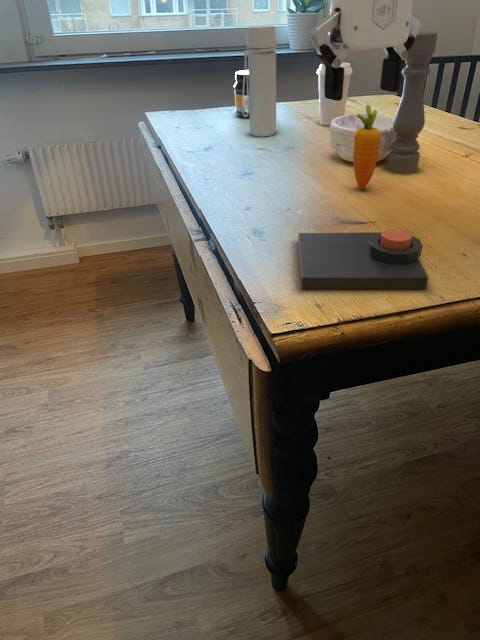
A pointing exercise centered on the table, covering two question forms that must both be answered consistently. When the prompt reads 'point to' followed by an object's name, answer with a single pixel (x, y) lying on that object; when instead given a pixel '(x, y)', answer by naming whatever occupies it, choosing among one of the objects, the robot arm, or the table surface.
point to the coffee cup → (327, 106)
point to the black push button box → (358, 263)
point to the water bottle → (261, 80)
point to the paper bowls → (345, 130)
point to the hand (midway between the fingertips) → (361, 94)
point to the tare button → (396, 239)
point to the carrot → (366, 148)
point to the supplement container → (239, 92)
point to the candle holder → (411, 106)
